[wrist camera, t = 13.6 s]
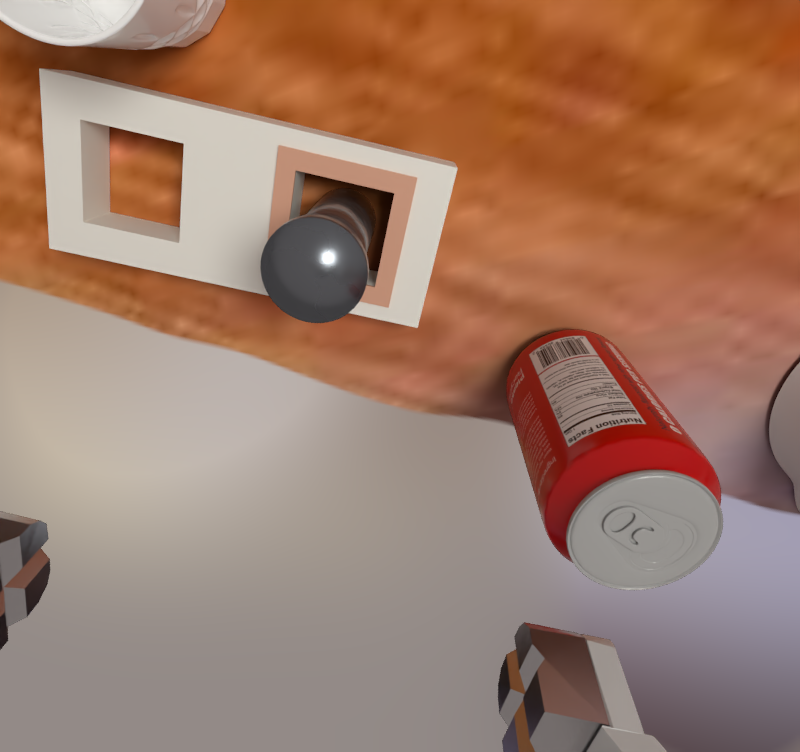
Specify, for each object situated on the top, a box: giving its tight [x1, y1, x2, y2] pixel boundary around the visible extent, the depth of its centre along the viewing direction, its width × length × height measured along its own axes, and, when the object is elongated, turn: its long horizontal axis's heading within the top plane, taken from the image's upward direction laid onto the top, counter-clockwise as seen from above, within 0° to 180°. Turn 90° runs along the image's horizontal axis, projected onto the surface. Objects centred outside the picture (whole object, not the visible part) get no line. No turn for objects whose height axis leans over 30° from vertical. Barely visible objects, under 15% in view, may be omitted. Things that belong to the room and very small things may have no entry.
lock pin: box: [260, 188, 376, 323], centre depth 28 cm, size 4×4×11 cm
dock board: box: [39, 68, 457, 328], centre depth 31 cm, size 21×9×3 cm, turn 78°
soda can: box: [506, 330, 723, 590], centre depth 31 cm, size 8×8×15 cm
